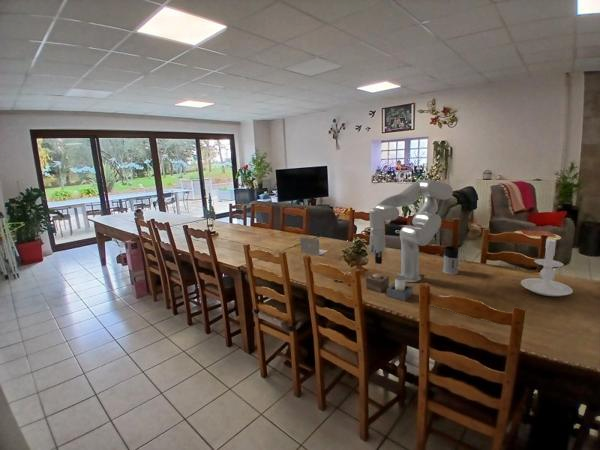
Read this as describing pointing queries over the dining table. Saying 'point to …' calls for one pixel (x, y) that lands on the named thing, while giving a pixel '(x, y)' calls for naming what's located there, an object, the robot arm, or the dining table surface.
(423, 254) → the dining table surface
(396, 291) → the cartridge housing
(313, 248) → the laptop
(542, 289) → the candlestick
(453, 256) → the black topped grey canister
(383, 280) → the grey square box
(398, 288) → the filter cartridge
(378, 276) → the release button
